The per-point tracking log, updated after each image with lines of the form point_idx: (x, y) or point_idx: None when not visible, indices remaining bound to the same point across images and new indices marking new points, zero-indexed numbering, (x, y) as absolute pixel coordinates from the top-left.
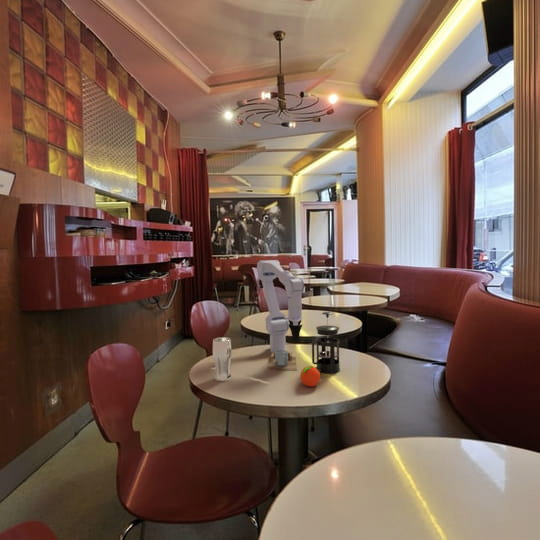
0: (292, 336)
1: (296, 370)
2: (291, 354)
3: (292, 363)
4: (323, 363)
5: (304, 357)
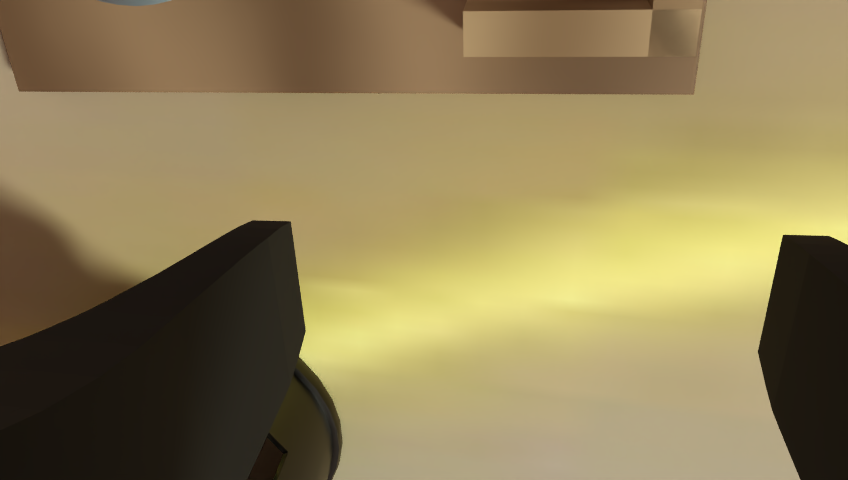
0: (167, 271)
1: (19, 87)
2: (566, 41)
3: (320, 33)
4: (312, 422)
5: (727, 222)
